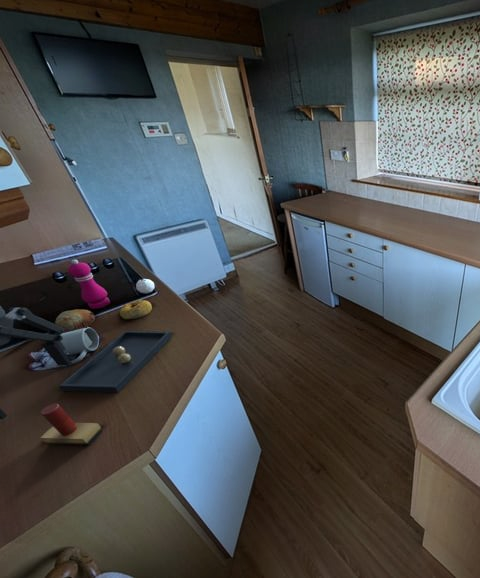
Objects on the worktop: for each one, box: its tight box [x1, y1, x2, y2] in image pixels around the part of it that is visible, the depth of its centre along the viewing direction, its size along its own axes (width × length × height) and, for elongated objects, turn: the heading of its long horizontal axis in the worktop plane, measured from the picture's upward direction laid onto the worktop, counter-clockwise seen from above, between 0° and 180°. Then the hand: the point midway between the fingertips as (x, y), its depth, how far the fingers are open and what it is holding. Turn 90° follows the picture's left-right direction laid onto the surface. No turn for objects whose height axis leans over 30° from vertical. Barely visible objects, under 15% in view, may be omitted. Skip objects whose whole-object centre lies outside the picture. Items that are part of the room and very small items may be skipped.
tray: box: [59, 330, 173, 393], centre depth 91 cm, size 16×24×2 cm, turn 179°
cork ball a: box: [113, 346, 125, 356], centre depth 92 cm, size 3×3×3 cm
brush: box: [39, 403, 103, 446], centre depth 68 cm, size 10×4×11 cm, turn 89°
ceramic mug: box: [60, 326, 100, 365], centre depth 92 cm, size 11×8×8 cm
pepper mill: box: [67, 259, 111, 310], centre depth 112 cm, size 7×7×20 cm
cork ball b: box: [118, 353, 131, 363], centre depth 90 cm, size 3×3×3 cm
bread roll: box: [54, 308, 96, 333], centre depth 105 cm, size 10×10×8 cm
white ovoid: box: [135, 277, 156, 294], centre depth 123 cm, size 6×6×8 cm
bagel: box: [119, 299, 153, 320], centre depth 112 cm, size 10×11×5 cm
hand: (35, 388), depth 62 cm, fingers open, 13 cm apart
